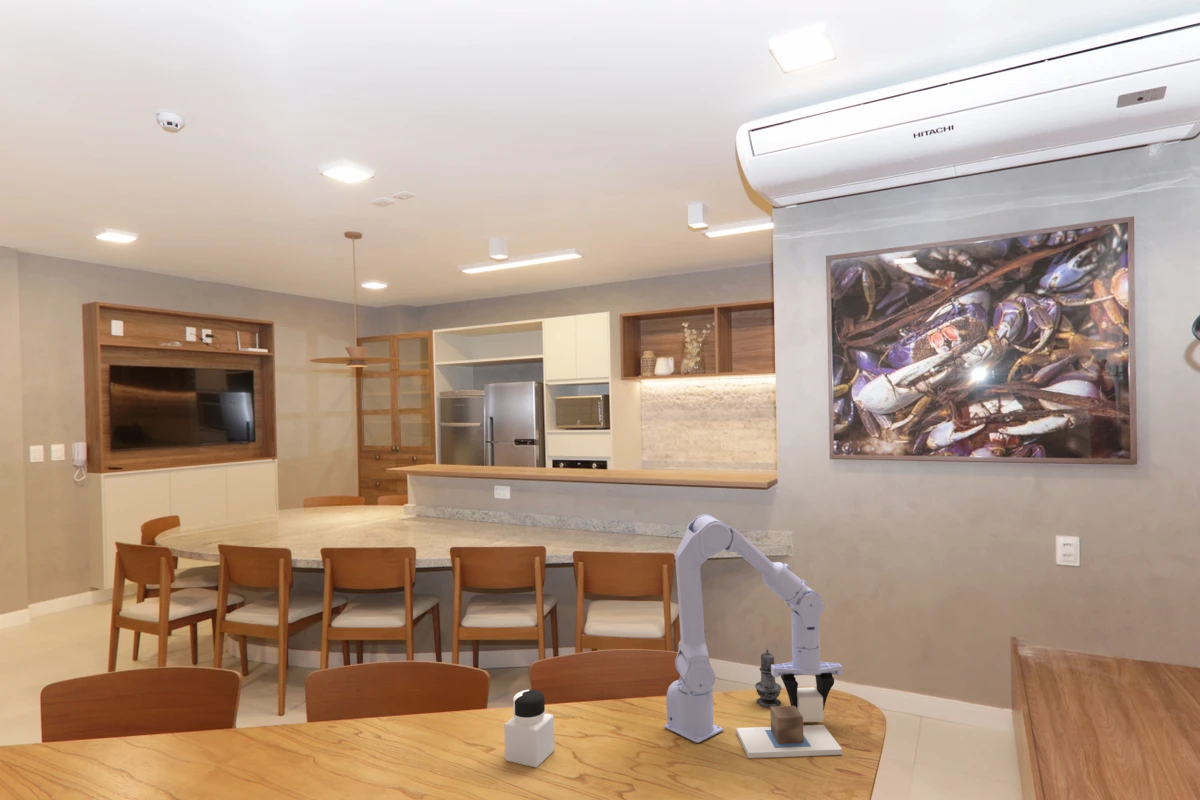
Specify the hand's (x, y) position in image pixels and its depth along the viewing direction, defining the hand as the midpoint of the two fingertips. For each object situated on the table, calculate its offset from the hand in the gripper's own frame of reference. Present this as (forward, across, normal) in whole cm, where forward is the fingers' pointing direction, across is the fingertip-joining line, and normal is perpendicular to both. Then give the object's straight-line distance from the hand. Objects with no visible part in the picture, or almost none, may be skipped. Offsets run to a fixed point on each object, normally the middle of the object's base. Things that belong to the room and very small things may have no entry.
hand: (807, 709), depth 142 cm
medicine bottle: (+3, +58, +10) cm, 58 cm away
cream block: (+2, 0, 0) cm, 2 cm away
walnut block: (+2, +7, +8) cm, 11 cm away
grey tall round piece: (+3, +5, -10) cm, 12 cm away
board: (+3, +7, +8) cm, 11 cm away
